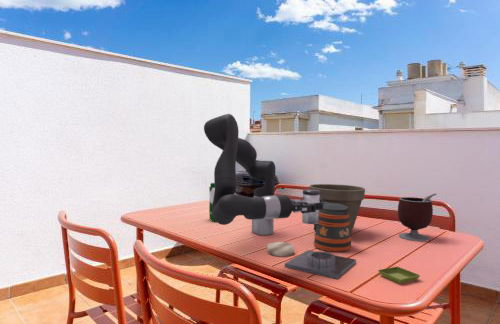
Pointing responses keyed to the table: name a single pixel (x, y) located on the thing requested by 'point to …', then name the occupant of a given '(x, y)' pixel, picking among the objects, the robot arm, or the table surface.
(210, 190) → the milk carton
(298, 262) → the hub plate
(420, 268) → the table surface
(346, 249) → the beer stein
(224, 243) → the table surface
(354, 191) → the plant pot
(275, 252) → the pedestal
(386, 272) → the olive green shallow tray
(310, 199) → the glass jar with lid
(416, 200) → the mate gourd
